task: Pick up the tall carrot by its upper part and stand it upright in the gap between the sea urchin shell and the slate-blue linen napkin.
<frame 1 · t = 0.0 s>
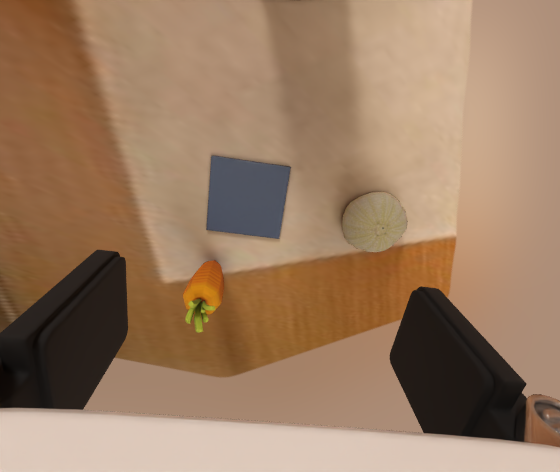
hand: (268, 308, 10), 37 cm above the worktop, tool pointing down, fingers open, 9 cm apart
napkin: (247, 198, 47), on the worktop
carrot: (214, 261, 51), on the worktop
sea urchin shell: (370, 218, 49), on the worktop
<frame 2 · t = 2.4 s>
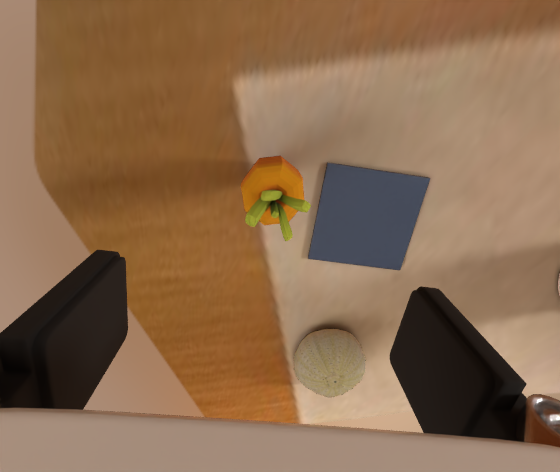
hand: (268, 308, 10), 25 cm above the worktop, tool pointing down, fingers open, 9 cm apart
napkin: (365, 219, 36), on the worktop
carrot: (272, 168, 33), on the worktop
sea urchin shell: (326, 350, 43), on the worktop
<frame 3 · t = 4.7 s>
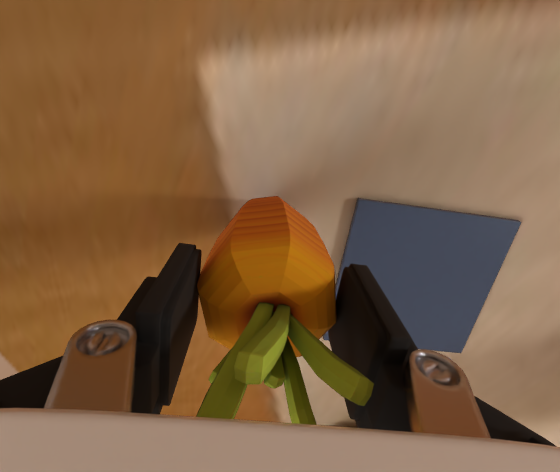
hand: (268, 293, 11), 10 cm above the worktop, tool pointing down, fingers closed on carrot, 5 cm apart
napkin: (413, 282, 23), on the worktop
carrot: (268, 207, 21), on the worktop, touching gripper
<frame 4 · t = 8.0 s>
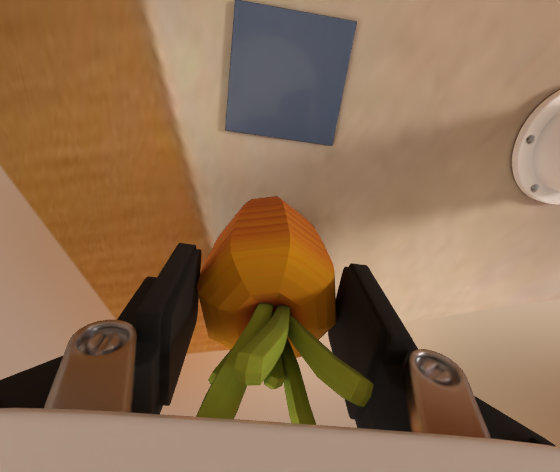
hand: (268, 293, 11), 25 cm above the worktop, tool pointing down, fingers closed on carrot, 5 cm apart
napkin: (287, 78, 31), on the worktop
carrot: (267, 208, 21), point 15 cm above the worktop, touching gripper
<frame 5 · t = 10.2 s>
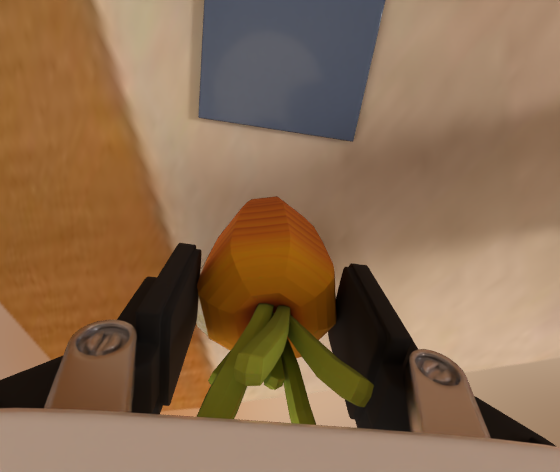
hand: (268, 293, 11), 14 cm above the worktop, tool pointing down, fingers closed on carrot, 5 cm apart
napkin: (289, 41, 21), on the worktop
carrot: (267, 208, 21), point 4 cm above the worktop, touching gripper
when the fingers open (10 cm above the worktop, at t = 11.7 s): carrot stays where it is, on the worktop.
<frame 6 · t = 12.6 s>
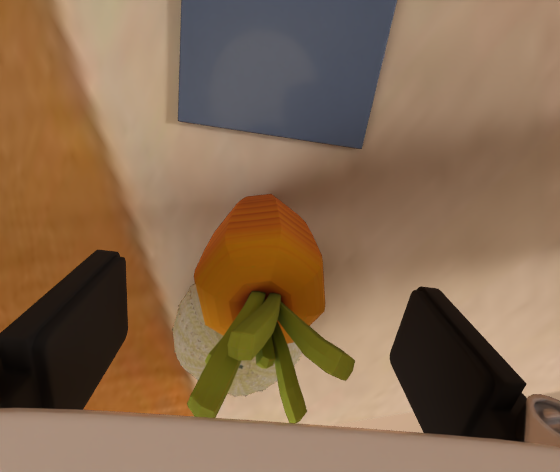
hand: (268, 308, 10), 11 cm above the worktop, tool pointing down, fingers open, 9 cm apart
napkin: (286, 29, 17), on the worktop
carrot: (262, 205, 21), on the worktop
sea urchin shell: (241, 314, 24), on the worktop
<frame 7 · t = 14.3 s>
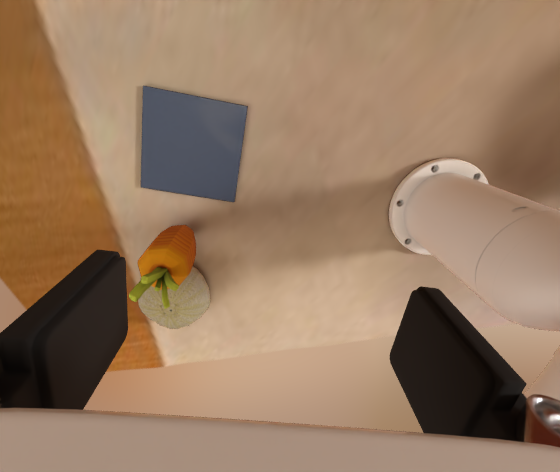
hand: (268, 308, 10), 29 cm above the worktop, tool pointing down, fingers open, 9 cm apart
napkin: (192, 147, 37), on the worktop
carrot: (186, 228, 41), on the worktop
sea urchin shell: (178, 286, 44), on the worktop
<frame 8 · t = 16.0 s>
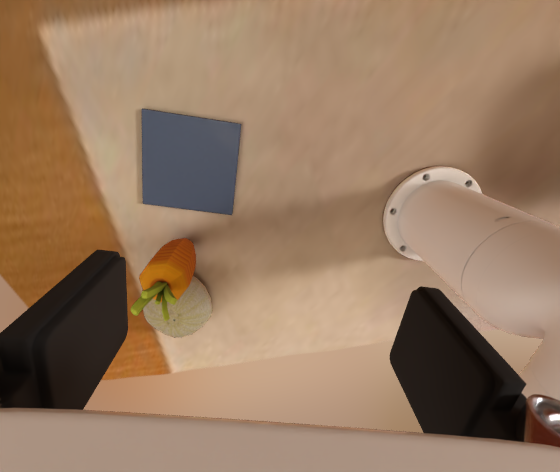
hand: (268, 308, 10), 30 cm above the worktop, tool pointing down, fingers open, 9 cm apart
napkin: (190, 164, 38), on the worktop
carrot: (187, 240, 42), on the worktop
sea urchin shell: (181, 296, 46), on the worktop
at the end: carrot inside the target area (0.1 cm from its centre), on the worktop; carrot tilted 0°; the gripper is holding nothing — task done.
